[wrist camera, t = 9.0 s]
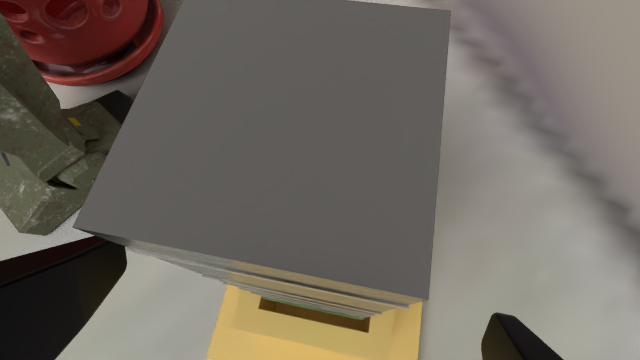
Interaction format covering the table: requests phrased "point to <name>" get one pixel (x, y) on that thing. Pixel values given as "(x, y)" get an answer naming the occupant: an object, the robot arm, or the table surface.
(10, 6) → the plant pot
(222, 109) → the column
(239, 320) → the stand base
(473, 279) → the table surface
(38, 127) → the mechanical leg
